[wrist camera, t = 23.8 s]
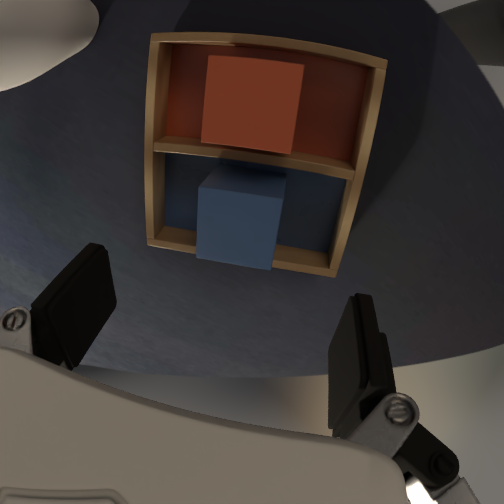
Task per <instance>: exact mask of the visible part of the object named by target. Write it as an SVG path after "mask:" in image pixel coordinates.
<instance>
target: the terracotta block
mask: <svg viewBox="0 0 504 504" xmlns="http://www.w3.org/2000/svg"><path fill="white" fill-rule="evenodd" d="M304 67H305V66H304V65H301V64H295V63H288V62H281V61H274V60H265V59H256V58H246V57H233V56H217V55H209V58H208V67H207V77H206V87H205V98H204V109H203V121H202V134H201V142H203V143H212V144H221V145H230V146H238V147H245V148H252V149H259V150H266V151H273V152H279V153H285V154H291V151H292V145H293V139H294V132H295V126H296V120H297V113H298V107H299V100H300V94H301V87H302V80H303V74H304Z"/></svg>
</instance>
